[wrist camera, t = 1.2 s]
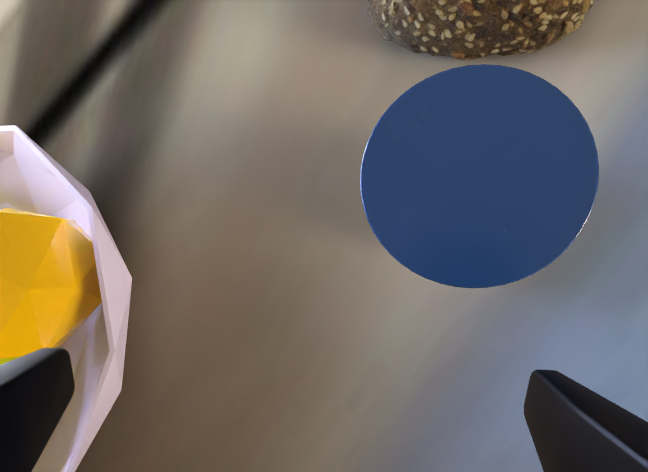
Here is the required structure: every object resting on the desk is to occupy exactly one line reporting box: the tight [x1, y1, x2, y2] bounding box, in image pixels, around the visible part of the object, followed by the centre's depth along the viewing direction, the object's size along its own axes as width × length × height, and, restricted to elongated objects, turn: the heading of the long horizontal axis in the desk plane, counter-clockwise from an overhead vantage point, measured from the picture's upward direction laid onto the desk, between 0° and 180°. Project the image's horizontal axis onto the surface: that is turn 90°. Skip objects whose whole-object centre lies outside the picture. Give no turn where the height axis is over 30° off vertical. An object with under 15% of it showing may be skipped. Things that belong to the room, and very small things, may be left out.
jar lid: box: [360, 64, 599, 288], centre depth 14 cm, size 7×7×3 cm
